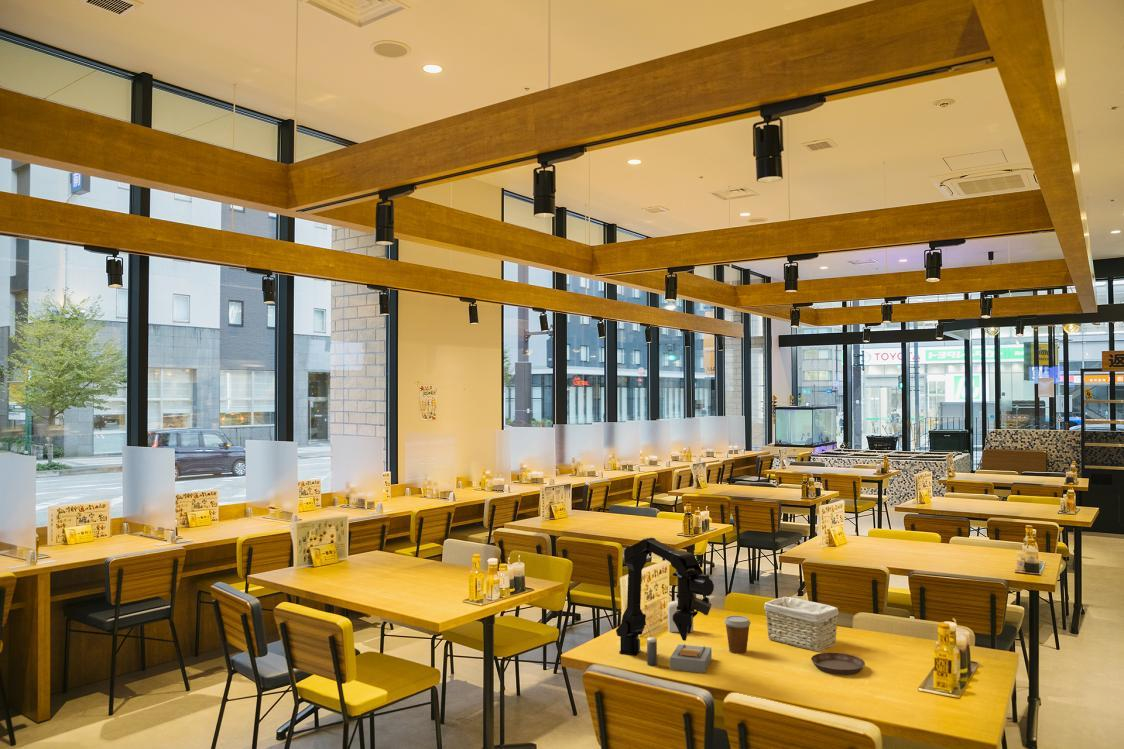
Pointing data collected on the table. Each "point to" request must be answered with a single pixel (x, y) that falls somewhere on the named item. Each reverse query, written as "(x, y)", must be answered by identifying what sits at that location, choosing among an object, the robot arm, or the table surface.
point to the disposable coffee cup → (737, 633)
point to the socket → (691, 659)
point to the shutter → (689, 652)
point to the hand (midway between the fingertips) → (686, 636)
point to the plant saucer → (838, 663)
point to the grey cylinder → (652, 651)
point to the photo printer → (671, 610)
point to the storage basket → (801, 623)
